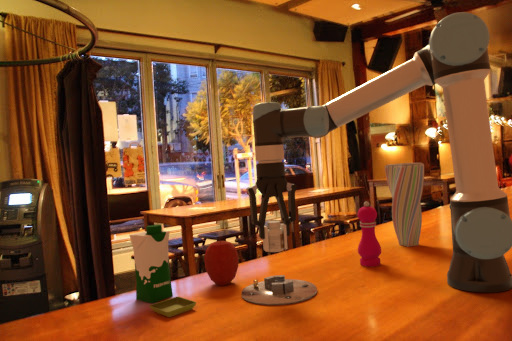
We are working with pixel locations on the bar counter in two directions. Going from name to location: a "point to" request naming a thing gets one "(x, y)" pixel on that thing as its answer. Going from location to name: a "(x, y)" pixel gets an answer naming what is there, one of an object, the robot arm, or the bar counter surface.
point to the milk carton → (152, 264)
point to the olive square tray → (173, 306)
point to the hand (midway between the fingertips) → (275, 249)
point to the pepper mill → (368, 237)
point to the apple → (221, 262)
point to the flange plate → (279, 299)
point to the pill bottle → (275, 236)
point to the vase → (406, 200)
